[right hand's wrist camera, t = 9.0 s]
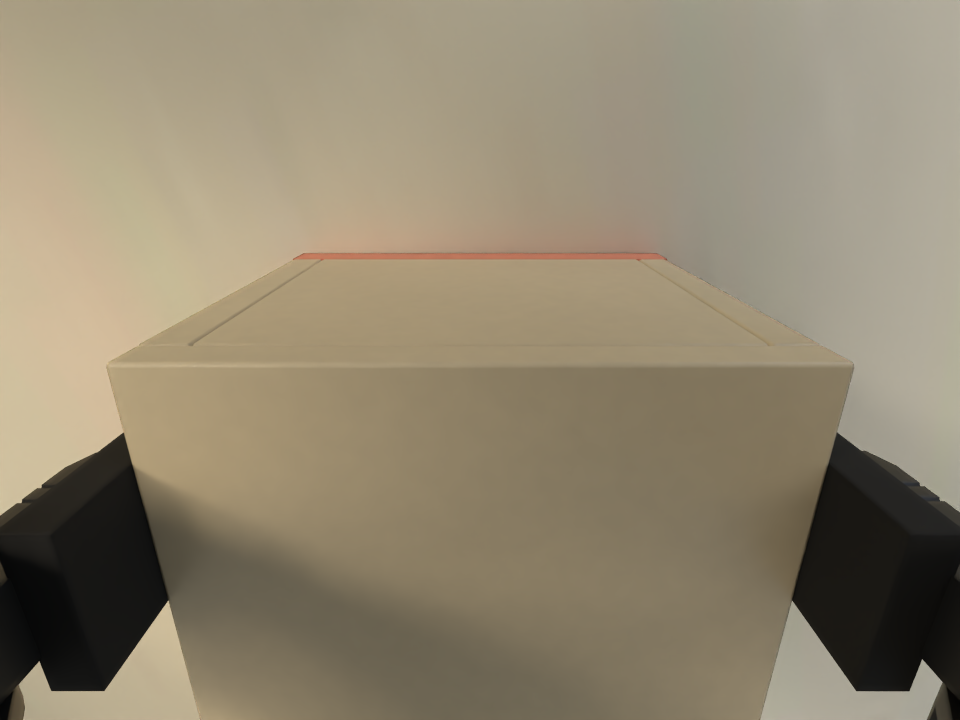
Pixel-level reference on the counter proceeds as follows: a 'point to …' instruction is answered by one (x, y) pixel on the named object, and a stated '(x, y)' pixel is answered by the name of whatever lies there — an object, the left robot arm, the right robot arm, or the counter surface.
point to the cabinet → (480, 488)
